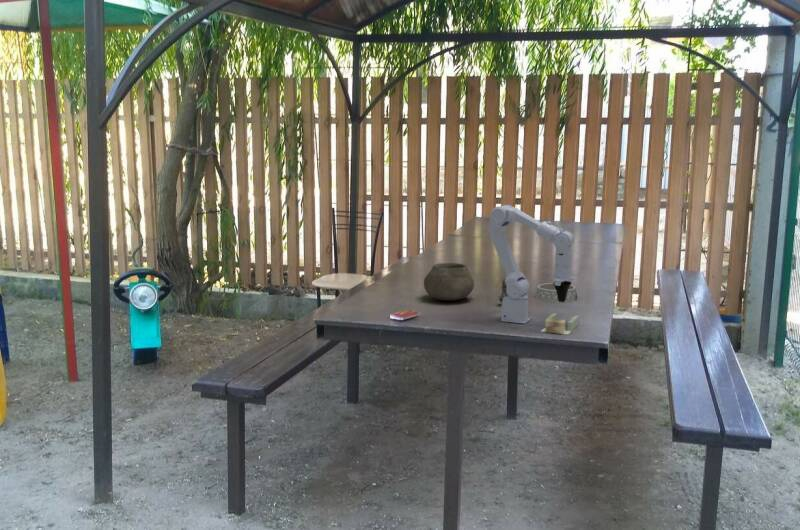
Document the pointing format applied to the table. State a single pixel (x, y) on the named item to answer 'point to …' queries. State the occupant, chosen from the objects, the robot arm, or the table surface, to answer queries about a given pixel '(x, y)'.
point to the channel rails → (571, 323)
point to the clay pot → (449, 281)
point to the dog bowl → (554, 293)
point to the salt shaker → (503, 292)
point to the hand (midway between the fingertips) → (561, 301)
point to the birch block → (555, 326)
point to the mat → (563, 333)
